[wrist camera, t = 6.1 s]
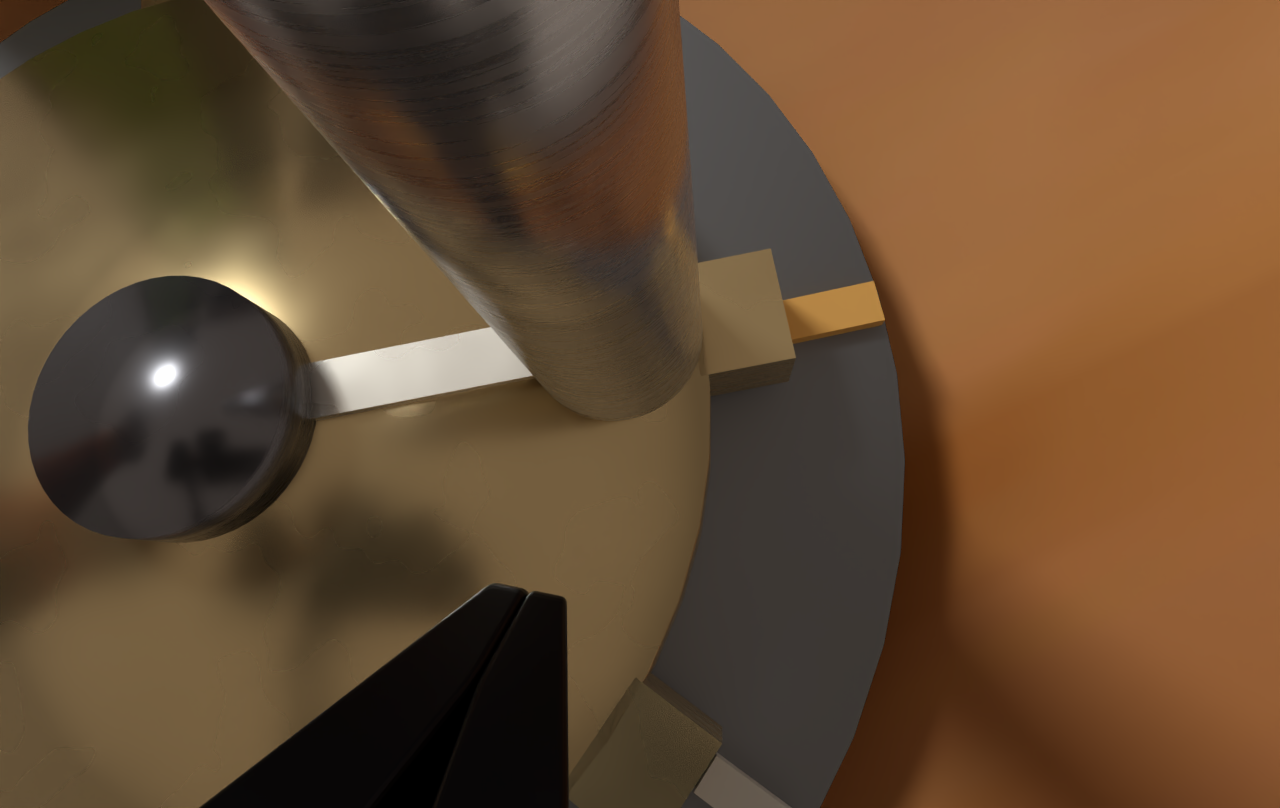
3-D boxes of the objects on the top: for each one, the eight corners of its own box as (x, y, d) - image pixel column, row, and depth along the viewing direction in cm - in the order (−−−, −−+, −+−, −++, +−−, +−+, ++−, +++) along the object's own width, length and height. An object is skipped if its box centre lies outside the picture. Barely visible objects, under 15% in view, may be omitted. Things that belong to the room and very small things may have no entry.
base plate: (1119, 864, 14) (1178, 904, 12) (-195, 1329, 14) (-324, 1433, 12) (646, -167, 20) (639, -240, 18) (-249, 173, 20) (-340, 134, 19)
